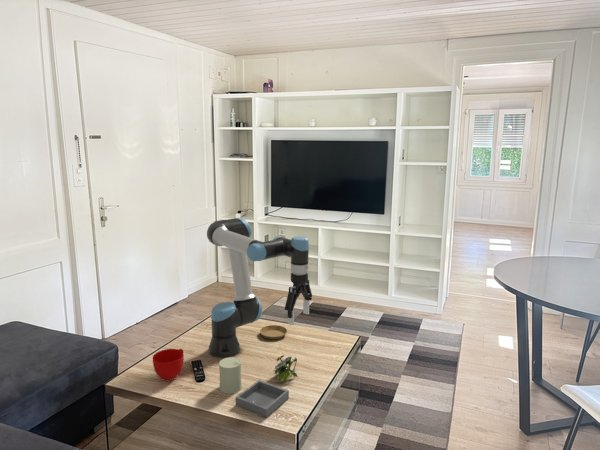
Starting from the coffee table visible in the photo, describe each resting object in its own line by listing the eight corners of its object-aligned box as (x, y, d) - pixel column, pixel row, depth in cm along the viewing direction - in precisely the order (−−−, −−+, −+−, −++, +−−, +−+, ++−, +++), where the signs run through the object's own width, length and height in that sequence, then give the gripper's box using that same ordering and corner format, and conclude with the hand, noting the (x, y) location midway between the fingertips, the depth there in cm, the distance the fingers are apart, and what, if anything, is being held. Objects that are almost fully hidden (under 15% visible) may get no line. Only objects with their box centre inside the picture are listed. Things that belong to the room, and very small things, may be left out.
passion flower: (280, 384, 194) (283, 357, 199) (301, 386, 189) (304, 358, 194) (267, 381, 186) (271, 352, 191) (289, 382, 181) (293, 353, 186)
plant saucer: (287, 329, 241) (287, 325, 240) (286, 341, 226) (286, 336, 226) (261, 329, 240) (261, 324, 240) (258, 341, 226) (258, 336, 226)
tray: (235, 405, 170) (235, 397, 169) (259, 387, 182) (259, 379, 182) (266, 418, 162) (266, 409, 161) (288, 398, 174) (288, 390, 174)
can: (237, 395, 177) (236, 368, 174) (216, 392, 178) (215, 365, 176) (244, 383, 186) (244, 357, 183) (224, 380, 187) (223, 355, 185)
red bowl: (195, 367, 198) (194, 347, 196) (172, 387, 182) (171, 365, 180) (171, 363, 202) (170, 343, 200) (147, 381, 186) (146, 360, 185)
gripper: (292, 281, 174) (291, 331, 178) (320, 267, 196) (319, 311, 200) (276, 278, 178) (276, 327, 182) (305, 264, 199) (305, 308, 203)
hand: (298, 318), depth 191 cm, fingers open, 13 cm apart
